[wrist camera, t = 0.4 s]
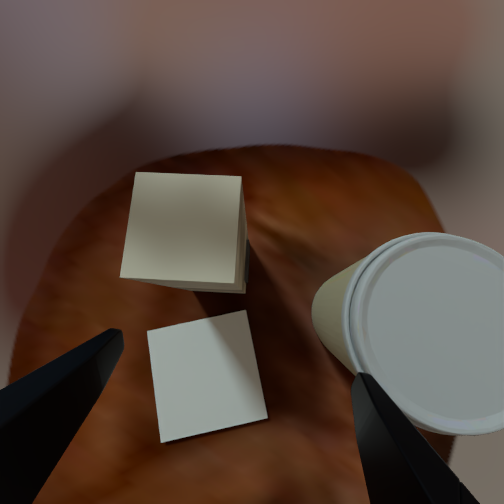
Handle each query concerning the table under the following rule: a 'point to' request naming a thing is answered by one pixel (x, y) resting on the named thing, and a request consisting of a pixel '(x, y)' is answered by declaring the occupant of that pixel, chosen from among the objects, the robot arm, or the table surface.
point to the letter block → (188, 233)
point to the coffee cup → (424, 329)
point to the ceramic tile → (205, 376)
